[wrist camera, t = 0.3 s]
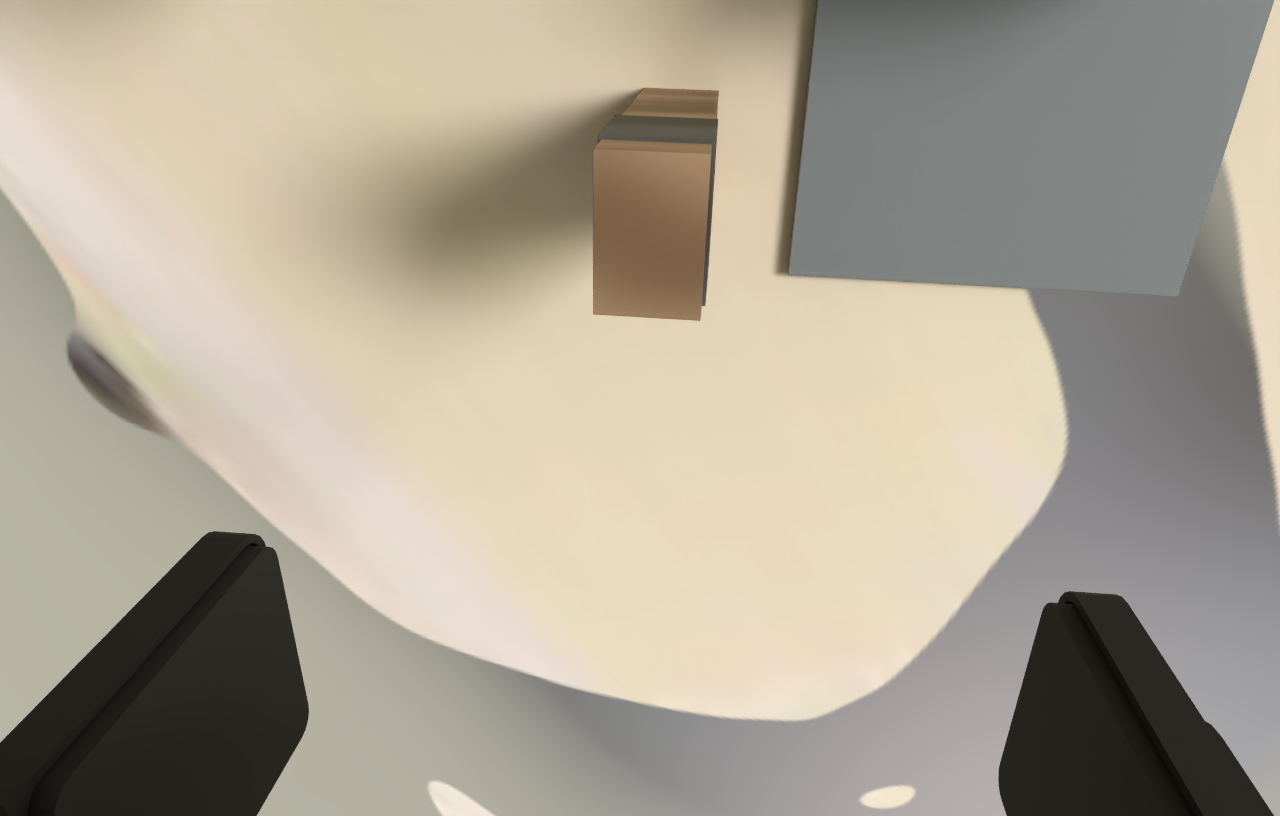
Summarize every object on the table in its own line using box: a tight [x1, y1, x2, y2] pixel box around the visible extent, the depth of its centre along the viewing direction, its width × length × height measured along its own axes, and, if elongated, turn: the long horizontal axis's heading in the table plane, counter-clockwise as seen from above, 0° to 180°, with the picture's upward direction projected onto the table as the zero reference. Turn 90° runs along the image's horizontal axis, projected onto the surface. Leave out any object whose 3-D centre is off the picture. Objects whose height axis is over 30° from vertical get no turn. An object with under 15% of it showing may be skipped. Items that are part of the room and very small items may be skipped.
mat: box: [788, 0, 1274, 296], centre depth 33 cm, size 16×16×1 cm
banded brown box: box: [593, 88, 719, 321], centre depth 29 cm, size 5×3×14 cm
